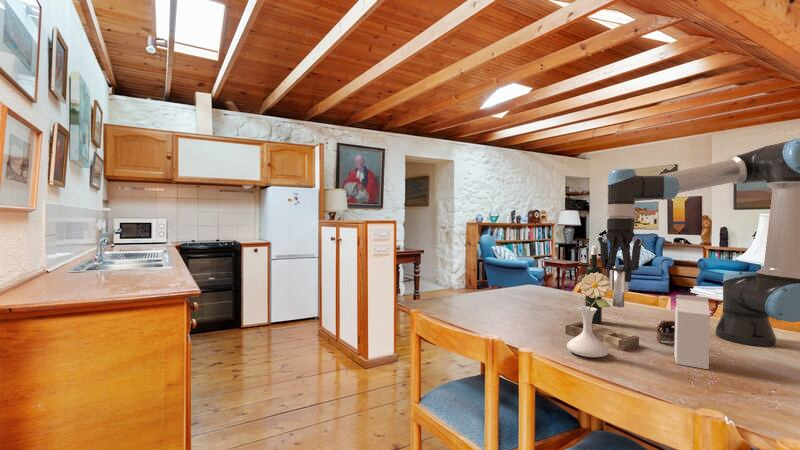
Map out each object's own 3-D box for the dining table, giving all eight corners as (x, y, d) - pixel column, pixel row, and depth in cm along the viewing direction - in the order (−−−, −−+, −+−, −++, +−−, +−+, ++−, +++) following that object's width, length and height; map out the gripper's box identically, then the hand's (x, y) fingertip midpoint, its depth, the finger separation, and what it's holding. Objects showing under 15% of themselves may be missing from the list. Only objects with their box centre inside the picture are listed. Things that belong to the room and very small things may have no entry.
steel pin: (621, 308, 119) (622, 267, 119) (608, 305, 123) (609, 266, 123) (628, 306, 122) (629, 266, 121) (615, 304, 125) (616, 265, 125)
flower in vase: (558, 350, 117) (559, 269, 117) (584, 345, 122) (586, 267, 121) (594, 365, 105) (596, 275, 105) (623, 359, 110) (624, 273, 109)
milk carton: (708, 370, 102) (710, 299, 102) (676, 364, 106) (677, 296, 106) (704, 361, 109) (706, 295, 108) (674, 356, 112) (675, 292, 112)
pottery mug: (701, 349, 120) (693, 328, 118) (671, 360, 122) (663, 340, 120) (676, 329, 132) (669, 309, 130) (649, 339, 133) (641, 320, 131)
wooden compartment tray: (638, 346, 121) (639, 336, 121) (623, 351, 117) (623, 341, 117) (580, 330, 138) (580, 321, 138) (565, 334, 134) (565, 325, 134)
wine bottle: (583, 319, 153) (584, 245, 152) (598, 320, 152) (599, 245, 151) (588, 323, 147) (589, 246, 146) (603, 324, 146) (605, 246, 146)
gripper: (653, 218, 117) (651, 294, 117) (602, 217, 131) (600, 285, 131) (641, 217, 113) (639, 296, 113) (589, 217, 127) (588, 287, 127)
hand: (618, 290), depth 122 cm, fingers closed on steel pin, 3 cm apart
